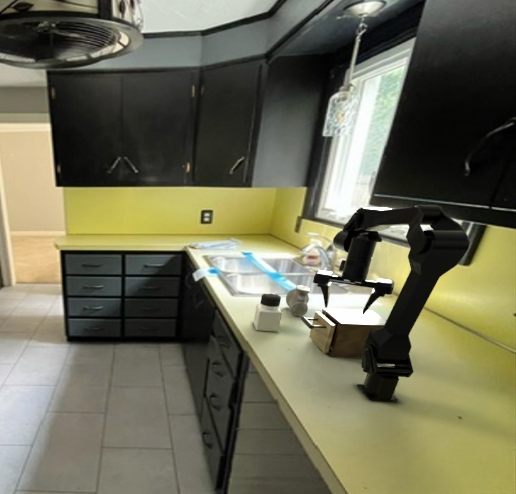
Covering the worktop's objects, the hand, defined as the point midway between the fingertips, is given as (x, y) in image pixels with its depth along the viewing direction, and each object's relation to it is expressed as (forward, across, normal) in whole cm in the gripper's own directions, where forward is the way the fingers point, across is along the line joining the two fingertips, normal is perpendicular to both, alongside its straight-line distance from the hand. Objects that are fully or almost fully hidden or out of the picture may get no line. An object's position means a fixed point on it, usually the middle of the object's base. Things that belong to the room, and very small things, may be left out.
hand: (344, 310), depth 104 cm
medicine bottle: (+13, +22, -7) cm, 27 cm away
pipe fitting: (+13, +17, -30) cm, 37 cm away
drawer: (+12, +1, -3) cm, 13 cm away
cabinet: (+13, -3, -6) cm, 15 cm away
